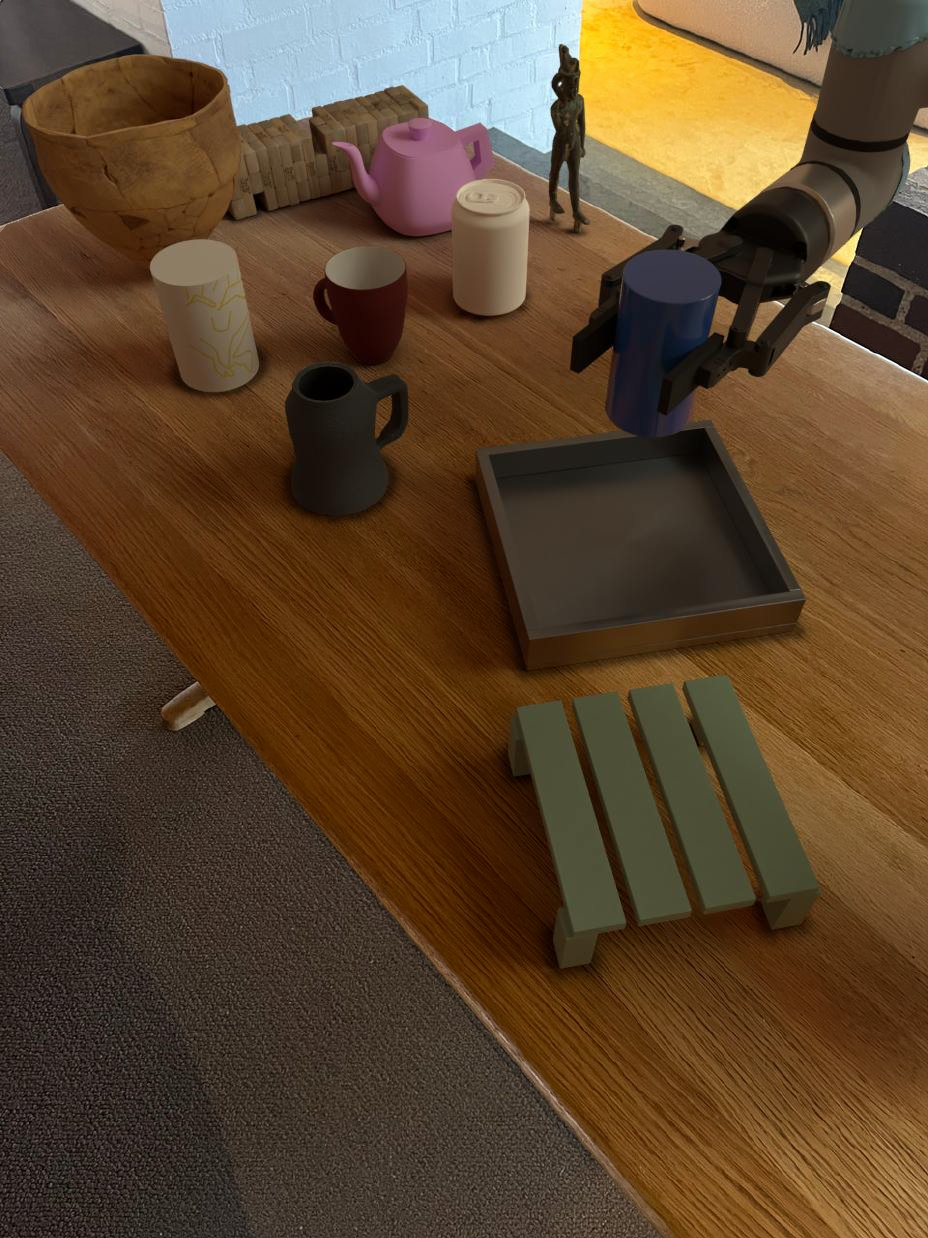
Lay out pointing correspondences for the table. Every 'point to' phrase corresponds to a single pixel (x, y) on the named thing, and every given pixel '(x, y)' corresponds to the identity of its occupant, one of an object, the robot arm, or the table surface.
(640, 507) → the tray
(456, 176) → the teapot
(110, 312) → the table surface
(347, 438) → the mug
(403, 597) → the table surface
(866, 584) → the table surface
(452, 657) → the table surface
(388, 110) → the block tower
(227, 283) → the cream marbled cylinder
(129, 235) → the bowl
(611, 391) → the navy blue cylinder
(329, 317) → the mug
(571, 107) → the statue
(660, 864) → the rack
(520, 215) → the beverage can
